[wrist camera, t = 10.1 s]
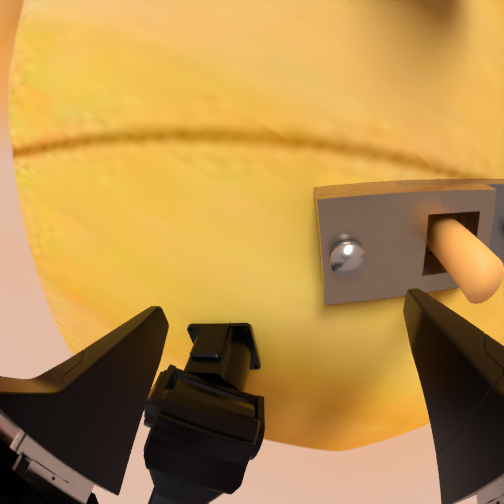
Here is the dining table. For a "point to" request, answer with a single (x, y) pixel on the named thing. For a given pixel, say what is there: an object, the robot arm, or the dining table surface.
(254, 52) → the dining table surface
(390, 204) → the gray switch cover plate
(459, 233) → the connecting pin
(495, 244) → the grey peg hole base
